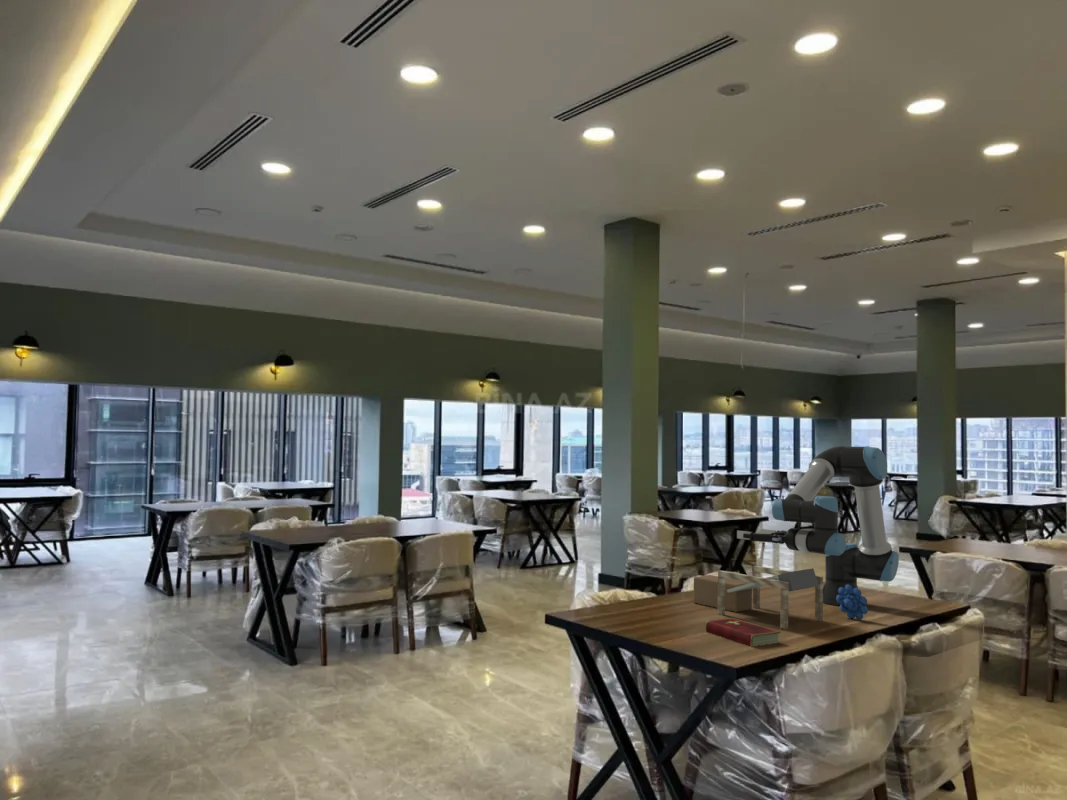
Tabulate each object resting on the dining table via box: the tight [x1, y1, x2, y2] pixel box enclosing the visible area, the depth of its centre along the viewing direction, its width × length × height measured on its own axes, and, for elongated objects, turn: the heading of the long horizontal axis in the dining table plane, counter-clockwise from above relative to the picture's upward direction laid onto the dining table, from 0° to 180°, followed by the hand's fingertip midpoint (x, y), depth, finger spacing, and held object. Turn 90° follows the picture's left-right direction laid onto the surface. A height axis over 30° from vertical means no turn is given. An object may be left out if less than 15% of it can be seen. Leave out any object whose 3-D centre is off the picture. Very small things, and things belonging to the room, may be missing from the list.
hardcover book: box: [704, 617, 781, 648], centre depth 259 cm, size 12×21×4 cm, turn 29°
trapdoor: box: [727, 568, 819, 592], centre depth 288 cm, size 26×19×6 cm
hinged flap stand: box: [717, 565, 824, 630], centre depth 289 cm, size 28×23×16 cm
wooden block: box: [692, 574, 753, 613], centre depth 307 cm, size 10×10×20 cm
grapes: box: [836, 585, 869, 621], centre depth 290 cm, size 12×7×12 cm, turn 43°
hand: (749, 533), depth 297 cm, fingers open, 13 cm apart
